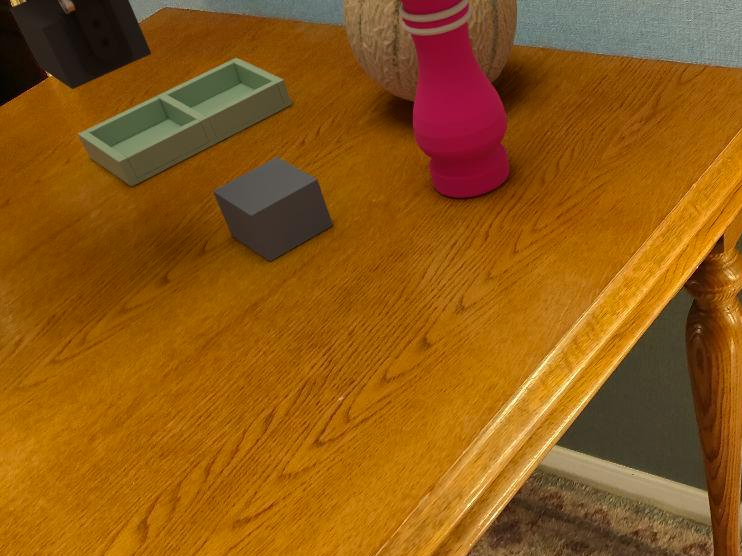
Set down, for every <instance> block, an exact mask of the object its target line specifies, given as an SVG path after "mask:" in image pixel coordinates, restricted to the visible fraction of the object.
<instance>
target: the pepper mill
mask: <svg viewBox="0 0 742 556" xmlns="http://www.w3.org/2000/svg"><path fill="white" fill-rule="evenodd" d="M400 1H401V2H402V4H401V5H400V8H399V13H400V15H401V17H402V19H403V22H402V26H403V28H404V29H405V30H406V31H407V32H408V33H411V36H412V39H413V41H414V44H415V48H416V53H417V59H418V84H417V90H416V96H415V102H413V109H412V127H413V133H414V140H415V142H416V144H417V147H419V148H420V150H421V151H422V152H423V154H425V155H426V156H428V157H429V158H430V160H429V161H428V169H429V172H430V177H431V181H432V185H433V188H434V189H435V190H436V191H437V192H438V193H440V194H441V195H442V196H445V197H449V198H453V199H454V198H457V199H468V198H473V197H474V198H475V197H478V196H481V195H485V194H488V193H489V192H492V191H495V190H496V189H497V188H499V187H500V186H501V185H503V184H504V183H505V182H506V180H507V178H508V177H509V175H510V172H511V171H510V163H509V158H508V152H507V149H506V147H505V146H504V145H503V143H502V141H503V140H504V138H505V135H506V132H507V129H508V117H507V114H506V110H505V107H504V104H503V101H502V100H501V98H500V95H499V93H498V91H497V90H496V88H495V87H494V85H493V84H492V83H490V81H489V80H488V79H487V77H486V76H485V74H484V73H483V71H482V70H481V68H480V66H479V65H478V62H477V60H476V58H475V56H474V54H473V50H472V46H471V42H470V38H469V31H468V22H467V21H468V20H469V18H470V17H471V14H472V10H471V8H470V6H469V3H468V2H469V0H400Z"/></svg>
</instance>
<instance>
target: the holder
mask: <svg viewBox="0 0 742 556" xmlns="http://www.w3.org/2000/svg"><path fill="white" fill-rule="evenodd" d="M292 105H293V103H292V100H291V97H290V94H289V91H288V88H287V85H286V82H285V80H284V79H283V78H281V77H280V76H277V75H275V74H272V73H271V72H268V71H266V70H264V69H263V68H260V67H257V66H256V65H253V64H251V63H249V62H247V61H245V60H243V59H240V58H238V57H234V58H233V59H231V60H228V61H226V62H224V63H222V64H220V65H218V66H216V67H214V68H211V69H209V70H208V71H206V72H203V73H201V74H199V75H197V76H195V77H193V78H191V79H188V80H186V81H185V82H183V83H180V84H178V85H177V86H174V87H172V88H170V89H168V90H166V91H164V92H162V93H161V92H160V93H159V94H157V95H156V96H153V97H151V98H150V99H147V100H146V101H143V102H141V103H139V104H136V105H135V106H132V107H131V108H129V109H126V110H124V111H122V112H121V113H118V114H116V115H114V116H112V117H110V118H107V119H106V120H103V121H102V122H99V123H97V124H95V125H93V126H91V127H88V128H87V129H84V130H83V131H81V132H78V133H77V135H78V137H79V140H80V141H81V143H82V145H83V147H84V149H85V150H86V153H87V154H88V156H89V158H90V159H91V160H92V161H93V162H95V163H96V164H98V165H100V166H101V167H102V168H104V169H105V170H107V171H108V172H109V173H111V174H112V175H114V176H115V177H116V178H118V179H119V180H121V181H122V182H124V183H125V184H127V185H128V186H129V187H130V188H133V187H135V186H137V185H138V184H140V183H142V182H144V181H146V180H147V179H150V178H151V177H154V176H156V175H158V174H160V173H162V172H163V171H166V170H168V169H169V168H172V167H173V166H175V165H177V164H179V163H181V162H183V161H185V160H187V159H188V158H192V156H195V155H197V154H199V153H200V152H203V151H205V150H206V149H208V148H210V147H212V146H214V145H216V144H219V143H220V142H222V141H224V140H226V139H228V138H230V137H232V136H234V135H236V134H238V133H239V132H241V131H244V130H246V129H248V128H250V127H251V126H253V125H255V124H257V123H259V122H261V121H263V120H265V119H267V118H269V117H272V116H273V115H275V114H277V113H279V112H280V111H282V110H285V109H286V108H288V107H290V106H292Z"/></svg>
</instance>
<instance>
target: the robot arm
mask: <svg viewBox="0 0 742 556" xmlns="http://www.w3.org/2000/svg"><path fill="white" fill-rule="evenodd" d="M26 1H28V0H25V2H26ZM58 2H59V3H60V5H61V7H62V8H63V10H64V11H63V12H61V13H59V15H60V17H61V19H62V21H63V23H64V25H65V27H66V29H67V31H68V33H69V35H70V38H71V40H72V42H73V44H74V46H75V48H76V50H77V52H78V54H79V56H80V58H81V60H82V62H83V65H84V67H85V69H86V71H87V72H88V73H90V74H91V75H93V76H97V75H99V74H102V73H104V72H106V71H108V70H111V69H113V68H115V67H117V66H120V65H122V64H124V63H126V62H128V61H130V60H131V59H132V58H133V54H132V51H131V49H130V46H129V44H128V42H127V40H126V37H125V35H124V33H123V31H122V28H121V26H120V24H119V22H118V19H117V17H116V15H115V12H114V10H113V8H112V6H111V3H110V1H109V0H58Z"/></svg>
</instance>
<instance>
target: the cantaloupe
mask: <svg viewBox="0 0 742 556" xmlns="http://www.w3.org/2000/svg"><path fill="white" fill-rule="evenodd" d="M468 3H469V6H470V8H471V10H472V14H471V17H470V18H469V20H468V21H467V22H468V31H469V38H470V42H471V46H472V50H473V54H474V56H475V58H476V60H477V62H478V65H479V66H480V68H481V70H482V71H483V73H484V74H485V76H486V77H487V79H488V80H489V81H490V83H491V84H492V83H494V82H495V80H497V78H499V76H500V75H501V73H502V71H503V69H504V68H505V66H506V64H507V62H508V60H509V57H510V55H511V52H512V48H513V44H514V41H515V36H516V30H517V22H518V4H517V0H469V2H468ZM401 4H402V2H401V1H400V0H342V18H343V23H344V27H345V33H346V36H347V39H348V42H349V45H350V48H351V52H352V54H353V55H354V58H355V59H356V61H357V63H358V65H359V66H360V67H361V69H362V70H363V72H364V74H366V75H367V76H368V77H369V78H370V79H371V80H372V81H373V82H375V83H376V84H377V85H378V86H380V88H382V89H383V90H385V91H386V92H389V93H390V94H391V95H393V96H396V97H398V98H401V99H402V100H406V101H409V102H410V101H411V102H413V103H414V102H415V96H416V90H417V84H418V59H417V53H416V48H415V44H414V41H413V39H412V36H411V33H408V32H407V31H406V30H405V29H404V28H403V26H402V22H403V19H402V17H401V15H400V13H399V8H400V5H401Z"/></svg>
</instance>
